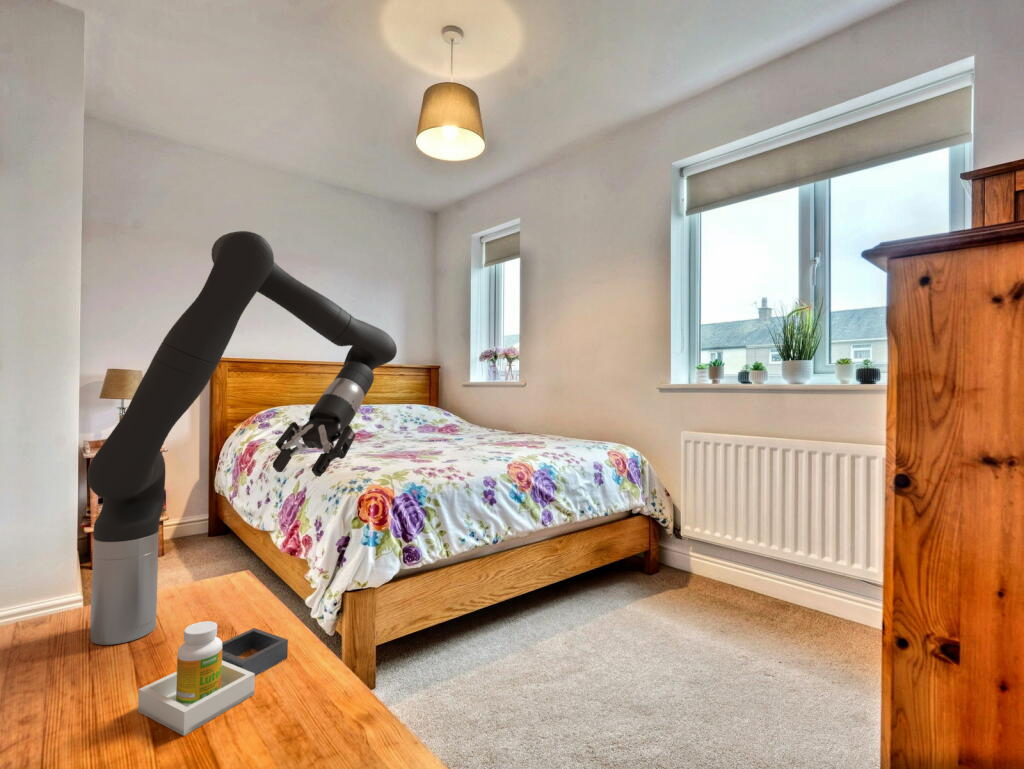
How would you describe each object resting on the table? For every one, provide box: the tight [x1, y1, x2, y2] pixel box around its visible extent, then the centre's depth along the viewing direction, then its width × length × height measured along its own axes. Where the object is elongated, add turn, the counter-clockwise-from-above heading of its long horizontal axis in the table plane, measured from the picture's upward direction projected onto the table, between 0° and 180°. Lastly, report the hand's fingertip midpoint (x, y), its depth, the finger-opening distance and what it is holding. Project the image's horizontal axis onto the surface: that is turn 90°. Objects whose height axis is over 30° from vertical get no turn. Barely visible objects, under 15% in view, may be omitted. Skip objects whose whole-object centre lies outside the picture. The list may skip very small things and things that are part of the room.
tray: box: [137, 660, 256, 737], centre depth 72 cm, size 10×10×3 cm
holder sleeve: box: [222, 627, 289, 677], centre depth 82 cm, size 8×8×3 cm
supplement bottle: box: [176, 620, 223, 707], centre depth 72 cm, size 5×5×10 cm
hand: (295, 471), depth 93 cm, fingers open, 8 cm apart
